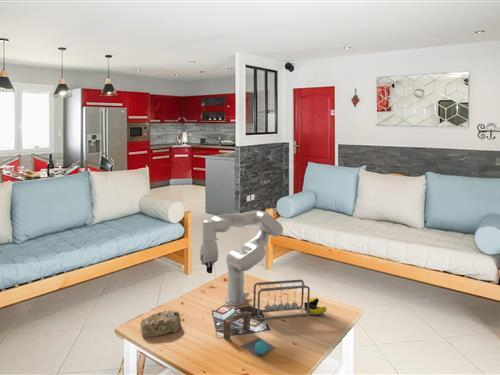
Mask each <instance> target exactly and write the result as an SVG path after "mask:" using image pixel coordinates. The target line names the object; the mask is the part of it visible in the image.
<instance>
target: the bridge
mask: <svg viewBox="0 0 500 375" xmlns="http://www.w3.org/2000/svg"><path fill="white" fill-rule="evenodd" d="M242 319H243V321H242V322H243V323H242V330H243V331H245V332H250V331H249V329H250V330H251V312H249V311H248V310H246V311H243V312H240V313H237V314H235V315H232V316H230V317H227V318H226V319H223V339H225V340H227V341H229V340H231V336H232V335H231V331H232V328H231V327H232V325H231V323H234V322H236V321H239V320H242Z"/></svg>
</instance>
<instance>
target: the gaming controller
mask: <svg viewBox="0 0 500 375" xmlns="http://www.w3.org/2000/svg"><path fill="white" fill-rule="evenodd" d="M318 304H319V298H317V297H313V298H312V299H309V313H308V315H311V316H318V315H323V314H324V313H325V312H326V311H327V306H325V305H324V306H321V307H319V306H318ZM303 307H304V308H303V309H304V310H305V311H306V312H307V301H305V302H303Z"/></svg>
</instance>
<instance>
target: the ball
mask: <svg viewBox="0 0 500 375" xmlns="http://www.w3.org/2000/svg"><path fill="white" fill-rule="evenodd" d="M264 341H265V340H264ZM264 341H259V342H257V343H256V345H255V351H256V352H257V353H258V354H260V355H261V356H262V355H265V354H266V353H268V352H267V349H268V347H267V344H266V343H265V342H264Z"/></svg>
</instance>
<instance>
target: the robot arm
mask: <svg viewBox="0 0 500 375" xmlns="http://www.w3.org/2000/svg"><path fill="white" fill-rule="evenodd" d="M256 225H258V226H259V228H258V229H259V230H258V233H257V234H256V236H254V237H253V238H251V239H250V240H248V241H247V242H245V243H244V244H243V245H242V247H241V250H237V249H233V250H231V251H229V252H228V253H227V255H226V265H227V296H226V297H225V299H224V301H225V304H227V305H228V306H234V307H235V306H242V305H244V304H245V303H246V302H247V299H246V297H247V296H250V292H249V291H245V290H244V288H245V287H244V282H245V280H244V279H245V273H244V272H247V271H249V270H251V269H252V268H253V267H255V266H257V265H258V264H259V263H261V262H262V261H263V259H264V258H265V256H266V248H265V247H266V246H268V244H269V240H270V236H272V237H280V236H282V234H283V231H284V228H283V225H282V224H281V222H279V221H278V220H277V219H276V218H275V217H273V216H272V215H271V214H270V213H268V212H266V211H263V210H258V209H257V210H251V211H246V212H240V213H224V214H218V215H217V214H216V215H214V216H213V217H212V218H210V219H205V220H203V221H202V244H201V246H200V251H199V261H201V262H200V265H203V266H204V265H205V266H206V273H207V274H209V275H210V274H212V273H213V267H214V265H215V263H216V262H218V260H219V248H218V243H217V241H218V238H217V233H226V232H228V231H230V229H231V228H232V227H234V228H246V227H251V226H256Z"/></svg>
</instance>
